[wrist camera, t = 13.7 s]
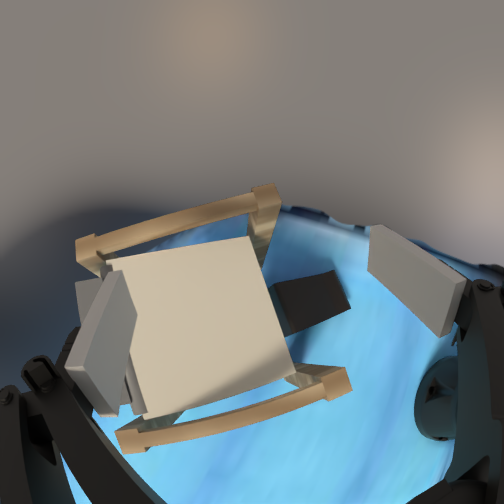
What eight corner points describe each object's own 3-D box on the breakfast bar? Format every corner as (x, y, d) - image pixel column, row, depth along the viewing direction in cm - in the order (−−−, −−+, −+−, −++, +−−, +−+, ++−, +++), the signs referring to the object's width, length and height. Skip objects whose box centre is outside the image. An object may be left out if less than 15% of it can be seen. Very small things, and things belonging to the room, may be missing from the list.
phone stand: (249, 304, 39) (317, 282, 44) (265, 345, 37) (332, 317, 42) (273, 283, 32) (349, 259, 37) (294, 333, 30) (368, 300, 35)
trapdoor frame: (298, 375, 36) (352, 390, 18) (172, 412, 33) (123, 454, 16) (257, 256, 42) (273, 182, 24) (139, 290, 39) (75, 240, 21)
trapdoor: (284, 373, 25) (297, 372, 22) (113, 421, 18) (108, 427, 16) (241, 247, 29) (249, 234, 26) (80, 276, 22) (73, 265, 20)
